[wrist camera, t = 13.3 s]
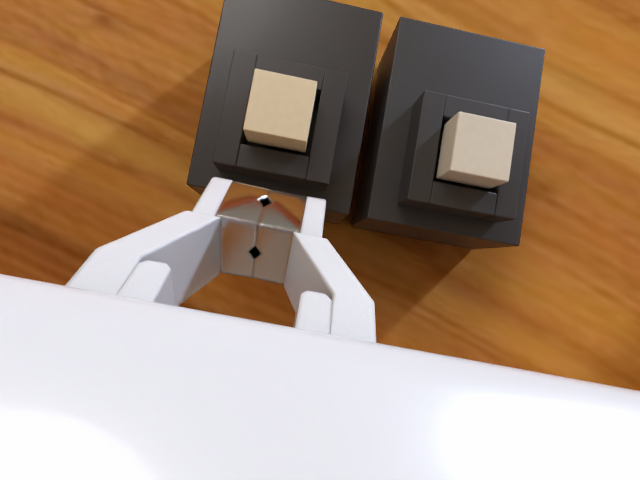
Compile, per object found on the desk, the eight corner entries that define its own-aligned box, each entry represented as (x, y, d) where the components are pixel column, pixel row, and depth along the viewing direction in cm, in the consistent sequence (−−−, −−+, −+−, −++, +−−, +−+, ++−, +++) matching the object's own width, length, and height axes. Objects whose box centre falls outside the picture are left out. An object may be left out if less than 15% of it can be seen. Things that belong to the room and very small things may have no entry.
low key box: (473, 249, 26) (541, 244, 19) (351, 226, 25) (374, 213, 18) (496, 90, 27) (569, 29, 20) (378, 64, 26) (410, -8, 19)
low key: (489, 189, 19) (509, 181, 17) (435, 178, 19) (450, 170, 17) (496, 135, 19) (517, 123, 18) (443, 124, 19) (459, 110, 18)
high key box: (337, 224, 25) (355, 210, 18) (208, 200, 24) (175, 176, 18) (365, 61, 26) (392, -12, 19) (240, 34, 25) (222, -52, 18)
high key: (305, 153, 19) (306, 142, 17) (247, 141, 18) (242, 129, 17) (315, 97, 19) (317, 80, 17) (257, 85, 19) (254, 67, 17)
